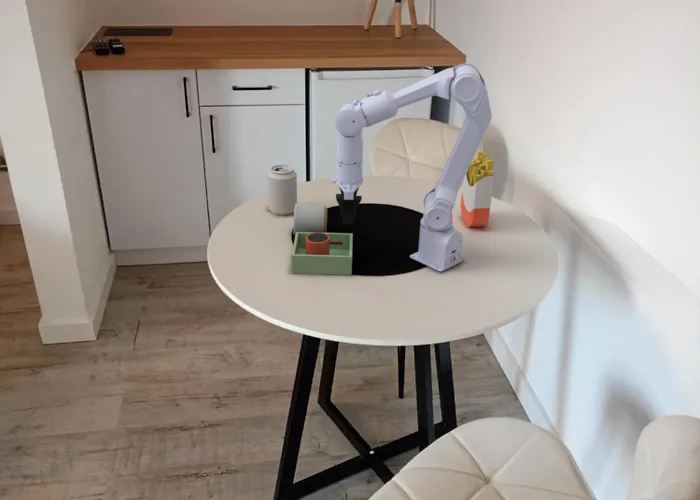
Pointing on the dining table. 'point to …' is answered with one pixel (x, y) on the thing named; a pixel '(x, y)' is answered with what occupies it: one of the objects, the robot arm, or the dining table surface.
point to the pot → (320, 244)
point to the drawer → (323, 256)
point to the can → (282, 189)
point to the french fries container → (477, 191)
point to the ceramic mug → (310, 218)
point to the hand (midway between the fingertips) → (348, 216)
